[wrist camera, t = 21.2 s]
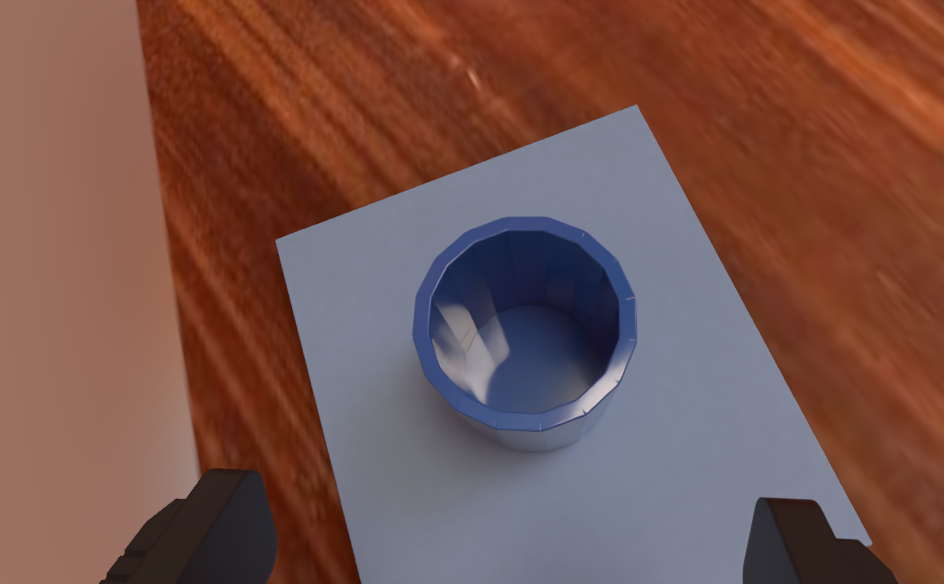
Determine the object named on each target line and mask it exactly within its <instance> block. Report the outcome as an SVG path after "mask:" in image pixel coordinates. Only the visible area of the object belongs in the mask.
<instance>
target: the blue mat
mask: <svg viewBox="0 0 944 584" xmlns="http://www.w3.org/2000/svg"><path fill="white" fill-rule="evenodd" d="M522 216H545V217H550V218H553V219H555V220H558V221H561V222H563V223H566V224H569V225H571V226H574V227H577V228H579V229H582V230H585V231H586V232H588V233H589V234H590V235H591V236H592V237H594V238H595V239H596V240H597V241H598V242H599V243H600V244H601V245H602V246H604V247H605V248H606V249H607V250H608V251H609V252H610V253H611V254H612V255H613V256H615V257H616V258H617V260H618V261H619V263H620V265H621V267H622V269H623V271H624V273H625V275H626V277H627V280H628V282H629V284H630V286H631V288H632V290H633V292H634V294H635V297H636V298H635V299H636V301H637V345H636V347H635V350H634V352H633V354H632V357H631V359H630V362H629V364H628V366H627V369H626V371H625V374H624V376H623V378H622V381H621V383H620V385H619V387H618V388H617V390H616V392H615V394H614V396H613V398H612V400H611V402H610V403H609V405H608V407H607V409H606V411H605V413H604V415H603V417H602V418H601V419H600V420H599V421H598V422H597V423H596V424H595V425H594V426H593V427H592V428H591V430H590V431H589V432H587V433H586V434H585V435H584V436H583V437H581V438H580V439H579V440H577V441H576V442H573V443H572V444H570V445H567V446H565V447H563V448H560V449H557V450H553V451H549V452H541V453H529V452H521V451H514V450H511V449H509V448H506V447H504V446H501V445H499V444H497V443H496V442H494V441H492V440H490V439H488V438H486V437H484V436H483V435H482V434H481V433H480V432H478V431H477V430H476V429H475V428H474V427H473V426H472V425H471V424H469V423H468V422H467V421H466V420H465V419H464V418H463V417H462V416H460V415H459V414H458V413H457V412H456V411H455V410H454V409H453V408H452V407H451V406H450V405H449V404H448V403H447V402H446V400H445V399H444V398H443V397H442V396H441V395H440V394H439V392H438V391H437V390H436V389H435V388H434V387H433V386H432V384H431V383H430V382H429V381H428V380H427V379H426V376H425V375H424V373H423V369H422V366H421V363H420V360H419V357H418V354H417V351H416V347H415V344H414V341H413V336H412V330H413V319H414V309H415V298H416V295H417V292H418V290H419V288H420V286H421V284H422V282H423V280H424V278H425V276H426V274H427V273H428V271H429V269H430V267H431V265H432V263H433V261H434V260H435V259H436V257H437V256H438V255H439V254H440V253H442V252H443V251H444V250H445V249H446V248H447V247H448V246H450V245H451V244H452V243H453V242H454V241H455V240H457V239H458V238H459V237H460V236H461V235H462V234H463V233H465V232H467V231H468V230H470V229H473V228H476V227H478V226H481V225H484V224H487V223H489V222H492V221H495V220H497V219H500V218H503V217H505V218H506V217H522ZM276 245H277V249H278V253H279V257H280V261H281V265H282V269H283V273H284V277H285V281H286V285H287V289H288V293H289V297H290V301H291V305H292V309H293V313H294V317H295V321H296V325H297V329H298V333H299V337H300V341H301V345H302V349H303V353H304V357H305V361H306V365H307V369H308V373H309V377H310V381H311V385H312V389H313V393H314V397H315V401H316V405H317V409H318V413H319V417H320V421H321V425H322V429H323V433H324V437H325V441H326V445H327V449H328V453H329V457H330V461H331V465H332V469H333V473H334V477H335V481H336V485H337V489H338V493H339V497H340V501H341V505H342V509H343V513H344V517H345V521H346V525H347V529H348V532H349V536H350V540H351V544H352V548H353V552H354V556H355V560H356V564H357V568H358V572H359V576H360V580H361V584H743V564H744V559H745V554H746V549H747V544H748V539H749V534H750V529H751V524H752V519H753V514H754V509H755V505H756V502H757V500H758V498H760V497H771V498H791V499H812V500H815V501H816V502H817V503H818V504H819V506H820V507H821V509H822V511H823V513H824V515H825V517H826V519H827V521H828V523H829V525H830V527H831V529H832V531H833V533H834V535H835V537H836V538H841V539H858V540H859V541H860V542H861V543H862V544H863V545H865V546H866V547H868V546H870V545H872V542H871V540H870V538H869V536H868V534H867V532H866V530H865V529H864V527H863V525H862V523H861V521H860V519H859V517H858V516H857V514H856V512H855V510H854V508H853V506H852V504H851V503H850V501H849V499H848V497H847V495H846V493H845V491H844V490H843V488H842V486H841V484H840V482H839V480H838V478H837V477H836V475H835V473H834V471H833V469H832V467H831V465H830V463H829V462H828V460H827V458H826V456H825V454H824V452H823V450H822V449H821V447H820V445H819V443H818V441H817V439H816V437H815V436H814V434H813V432H812V430H811V428H810V426H809V424H808V423H807V421H806V419H805V417H804V415H803V413H802V411H801V410H800V408H799V406H798V404H797V402H796V400H795V398H794V397H793V395H792V393H791V391H790V389H789V387H788V385H787V383H786V382H785V380H784V378H783V376H782V374H781V372H780V370H779V369H778V367H777V365H776V363H775V361H774V359H773V357H772V356H771V354H770V352H769V350H768V348H767V346H766V344H765V343H764V341H763V339H762V337H761V335H760V333H759V331H758V330H757V328H756V326H755V324H754V322H753V320H752V318H751V317H750V315H749V313H748V311H747V309H746V307H745V305H744V303H743V302H742V300H741V298H740V296H739V294H738V292H737V290H736V289H735V287H734V285H733V283H732V281H731V279H730V277H729V276H728V274H727V272H726V270H725V268H724V266H723V264H722V263H721V261H720V259H719V257H718V255H717V253H716V251H715V250H714V248H713V246H712V244H711V242H710V240H709V238H708V237H707V235H706V233H705V231H704V229H703V227H702V225H701V223H700V222H699V220H698V218H697V216H696V214H695V212H694V210H693V209H692V207H691V205H690V203H689V201H688V199H687V197H686V196H685V194H684V192H683V190H682V188H681V186H680V184H679V183H678V181H677V179H676V177H675V175H674V173H673V171H672V170H671V168H670V166H669V164H668V162H667V160H666V158H665V157H664V155H663V153H662V151H661V149H660V147H659V145H658V143H657V142H656V140H655V138H654V136H653V134H652V132H651V130H650V129H649V127H648V125H647V123H646V121H645V119H644V117H643V116H642V114H641V112H640V110H639V108H638V106H637V105H634V106H631V107H628V108H626V109H623V110H620V111H618V112H615V113H612V114H610V115H607V116H604V117H602V118H599V119H596V120H594V121H591V122H588V123H586V124H583V125H580V126H578V127H575V128H572V129H570V130H567V131H564V132H562V133H559V134H556V135H554V136H551V137H548V138H546V139H543V140H540V141H538V142H535V143H532V144H530V145H527V146H524V147H522V148H519V149H516V150H514V151H511V152H508V153H506V154H503V155H500V156H498V157H495V158H492V159H490V160H487V161H484V162H482V163H479V164H476V165H474V166H471V167H468V168H466V169H463V170H460V171H458V172H455V173H452V174H450V175H447V176H444V177H442V178H439V179H436V180H434V181H431V182H428V183H426V184H423V185H420V186H418V187H415V188H412V189H410V190H407V191H404V192H402V193H399V194H396V195H394V196H391V197H388V198H386V199H383V200H380V201H378V202H375V203H372V204H370V205H367V206H364V207H362V208H359V209H356V210H354V211H351V212H348V213H346V214H343V215H340V216H338V217H335V218H332V219H330V220H327V221H324V222H322V223H319V224H316V225H314V226H311V227H308V228H306V229H303V230H300V231H298V232H295V233H292V234H290V235H287V236H284V237H282V238H279V239H276Z"/></svg>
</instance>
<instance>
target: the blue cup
mask: <svg viewBox="0 0 944 584" xmlns="http://www.w3.org/2000/svg"><path fill="white" fill-rule="evenodd" d="M635 298H636V297H635V294H634V292H633V290H632V288H631V286H630V284H629V282H628V280H627V277H626V275H625V273H624V271H623V269H622V267H621V265H620V263H619V261H618V260H617V258H616V257H615V256H613V255H612V254H611V253H610V252H609V251H608V250H607V249H606V248H605V247H604V246H602V245H601V244H600V243H599V242H598V241H597V240H596V239H595V238H594V237H592V236H591V235H590V234H589V233H588V232H586V231H585V230H582V229H579V228H577V227H574V226H571V225H569V224H566V223H563V222H561V221H558V220H555V219H553V218H550V217H545V216H522V217H506V218H505V217H503V218H500V219H497V220H495V221H492V222H489V223H487V224H484V225H481V226H478V227H476V228H473V229H470V230H468V231H467V232H465V233H463V234H462V235H461V236H460V237H459V238H458V239H457V240H455V241H454V242H453V243H452V244H451V245H450V246H448V247H447V248H446V249H445V250H444V251H443V252H442V253H440V254H439V255H438V256H437V257H436V259H435V260H434V261H433V263H432V265H431V267H430V269H429V271H428V273H427V274H426V276H425V278H424V280H423V282H422V284H421V286H420V288H419V290H418V292H417V295H416V298H415V309H414V319H413V330H412V336H413V341H414V344H415V347H416V351H417V354H418V357H419V360H420V363H421V366H422V369H423V373H424V375H425V376H426V379H427V380H428V381H429V382H430V383H431V384H432V386H433V387H434V388H435V389H436V390H437V391H438V392H439V394H440V395H441V396H442V397H443V398H444V399H445V400H446V402H447V403H448V404H449V405H450V406H451V407H452V408H453V409H454V410H455V411H456V412H457V413H458V414H459V415H460V416H462V417H463V418H464V419H465V420H466V421H467V422H468V423H469V424H471V425H472V426H473V427H474V428H475V429H476V430H477V431H478V432H480V433H481V434H482V435H483V436H484V437H486V438H488V439H490V440H492V441H494V442H496V443H497V444H499V445H501V446H504V447H506V448H509V449H511V450H514V451H521V452H529V453H541V452H549V451H553V450H557V449H560V448H563V447H565V446H567V445H570V444H572V443H573V442H576V441H577V440H579V439H580V438H581V437H583V436H584V435H585V434H586V433H587V432H589V431H590V430H591V428H592V427H593V426H594V425H595V424H596V423H597V422H598V421H599V420H600V419H601V418H602V417H603V415H604V413H605V411H606V409H607V407H608V405H609V403H610V402H611V400H612V398H613V396H614V394H615V392H616V390H617V388H618V387H619V385H620V383H621V381H622V378H623V376H624V374H625V371H626V369H627V366H628V364H629V362H630V359H631V357H632V354H633V352H634V350H635V347H636V345H637V301H636V299H635Z"/></svg>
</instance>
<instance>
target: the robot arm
mask: <svg viewBox="0 0 944 584" xmlns="http://www.w3.org/2000/svg"><path fill="white" fill-rule="evenodd" d="M276 554H277V533H276V529H275V525H274V522H273V518H272V514H271V511H270V507H269V503H268V500H267V496H266V492H265V488H264V485H263V481H262V478H261V476H260V474H259V473H258V472H257V471H255V470H239V469H219V468H213V469H210V470H208V471H207V472H206V473H205V474H204V475H203V476H202V477H201V479H200V480H199V481H198V483H197V484H196V486H195V487H194V488H193V490H192V491H191V493H190V494H189V495H188V497H187V498H186V499H175V500H174V501H172V502H171V503H170V504H168V505H167V506H166V507H165V508H163V509H162V510H161V511H160V512H158V513H157V514H156V515H154V516H153V517H152V518H151V519H149V520H148V521H147V522H146V523H145V524H144V525H143V527H142V528H141V530H140V531H139V532H138V533H137V535H136V536H135V537H134V539H133V540H132V541H131V542H130V544H129V545H128V546H127V548H126V549H125V554H124V555H123V556H120V557H119V558H118V560H117V561H116V562H115V563H114V565H113V566H112V567H111V569H110V570H109V571H108V572H107V577H106V579H105V580H101V582H100V583H99V584H266V583H267V581H268V579H269V577H270V575H271V572H272V570H273V567H274V564H275V560H276ZM743 584H898V582H897V580H896V579H895V577H894V575H893V573H892V571H891V570H890V569H889V568H887V567H886V566H885V565H884V564H883V563H882V562H881V561H880V560H879V559H878V558H877V557H876V556H875V555H874V554H873V553H872V552H871V551H870V550H869V549H868V548H867V547H866V546H865V545H863V544H862V543H861V542H860V541H859V540H858V539H841V538H836V537H835V535H834V533H833V531H832V529H831V527H830V525H829V523H828V521H827V519H826V517H825V515H824V513H823V511H822V509H821V507H820V506H819V504H818V503H817V502H816V501H815V500H812V499H791V498H771V497H760V498H758V500H757V502H756V505H755V509H754V514H753V519H752V524H751V529H750V534H749V539H748V544H747V549H746V554H745V559H744V564H743Z"/></svg>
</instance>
